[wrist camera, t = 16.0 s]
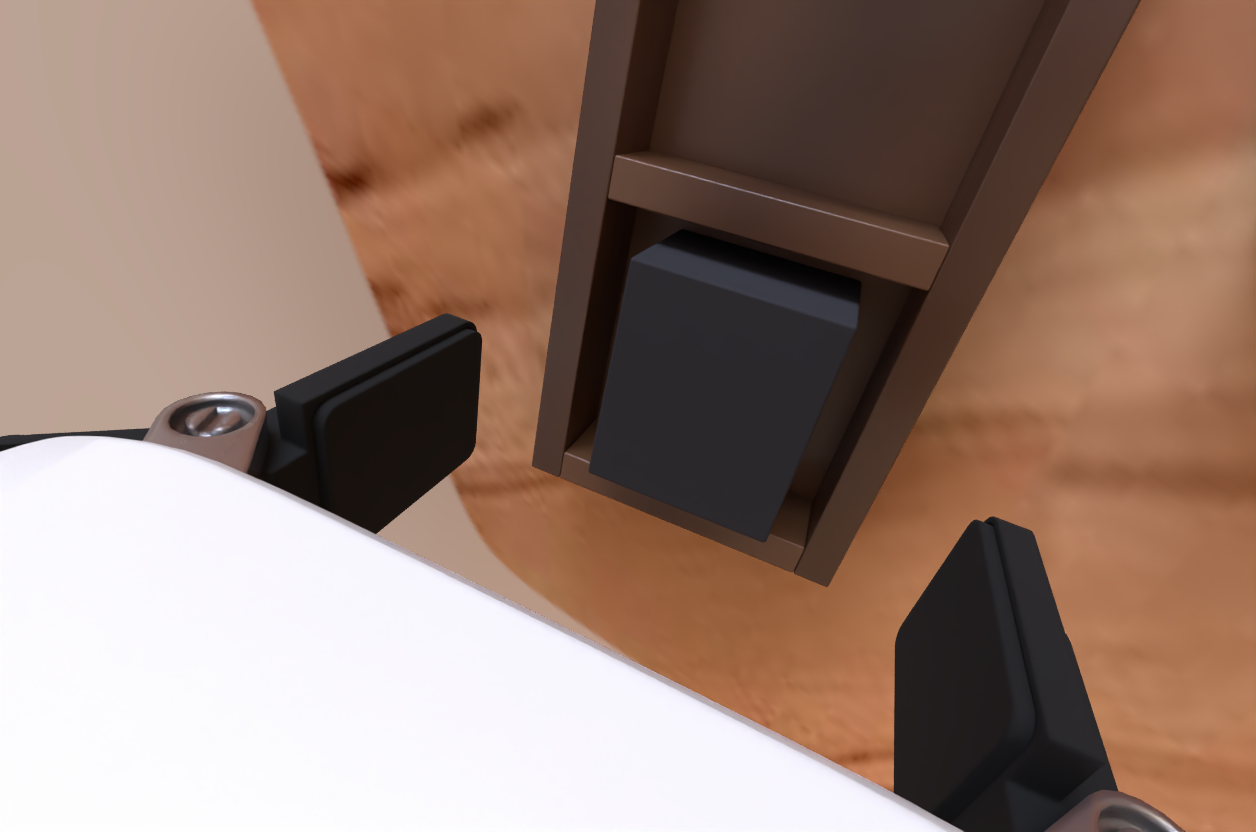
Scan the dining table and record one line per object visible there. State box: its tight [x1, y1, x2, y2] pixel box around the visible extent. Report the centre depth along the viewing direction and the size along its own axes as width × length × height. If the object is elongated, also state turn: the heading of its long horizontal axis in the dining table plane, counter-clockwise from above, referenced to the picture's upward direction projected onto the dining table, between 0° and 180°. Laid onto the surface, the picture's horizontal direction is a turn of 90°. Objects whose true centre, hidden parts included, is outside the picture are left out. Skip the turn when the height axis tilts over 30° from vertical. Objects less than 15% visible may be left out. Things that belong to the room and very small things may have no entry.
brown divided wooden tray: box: [532, 0, 1141, 587], centre depth 14 cm, size 10×18×3 cm, turn 166°
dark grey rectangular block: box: [589, 229, 862, 543], centre depth 15 cm, size 5×6×4 cm
